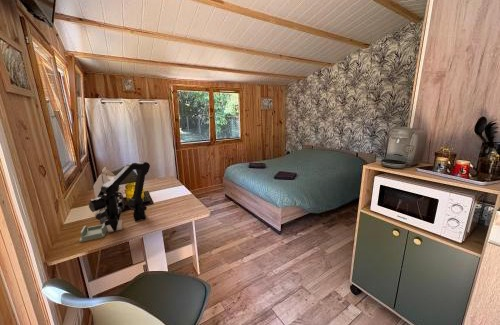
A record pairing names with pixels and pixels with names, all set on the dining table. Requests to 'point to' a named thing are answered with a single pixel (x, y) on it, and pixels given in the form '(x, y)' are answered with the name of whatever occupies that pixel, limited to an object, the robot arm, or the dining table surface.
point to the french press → (119, 199)
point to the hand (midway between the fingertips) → (115, 228)
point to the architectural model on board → (103, 217)
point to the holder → (93, 232)
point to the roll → (119, 226)
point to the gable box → (103, 180)
